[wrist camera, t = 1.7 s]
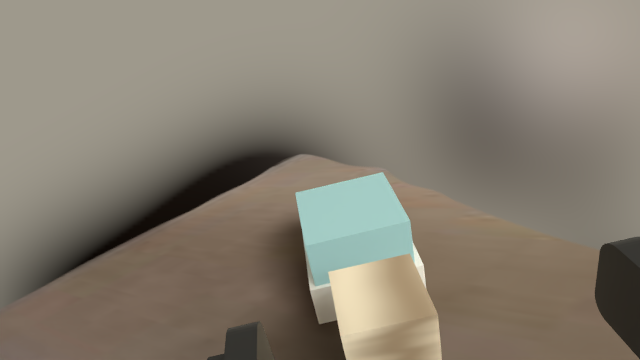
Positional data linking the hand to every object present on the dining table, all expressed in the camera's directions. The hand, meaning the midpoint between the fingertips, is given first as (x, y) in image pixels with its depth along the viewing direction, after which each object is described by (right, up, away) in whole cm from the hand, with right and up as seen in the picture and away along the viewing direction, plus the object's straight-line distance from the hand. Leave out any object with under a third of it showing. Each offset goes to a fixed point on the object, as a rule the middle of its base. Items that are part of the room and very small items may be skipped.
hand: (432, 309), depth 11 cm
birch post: (+3, -12, +19) cm, 23 cm away
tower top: (0, -2, +29) cm, 29 cm away
